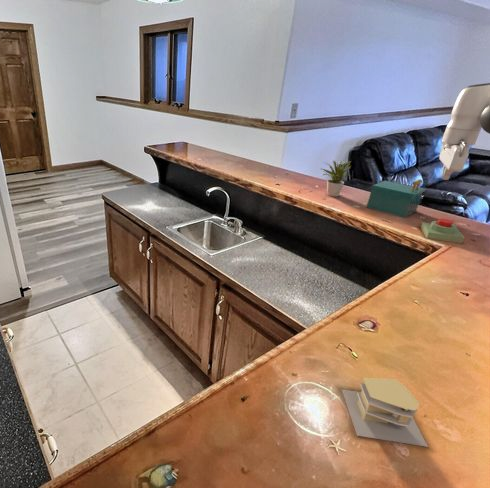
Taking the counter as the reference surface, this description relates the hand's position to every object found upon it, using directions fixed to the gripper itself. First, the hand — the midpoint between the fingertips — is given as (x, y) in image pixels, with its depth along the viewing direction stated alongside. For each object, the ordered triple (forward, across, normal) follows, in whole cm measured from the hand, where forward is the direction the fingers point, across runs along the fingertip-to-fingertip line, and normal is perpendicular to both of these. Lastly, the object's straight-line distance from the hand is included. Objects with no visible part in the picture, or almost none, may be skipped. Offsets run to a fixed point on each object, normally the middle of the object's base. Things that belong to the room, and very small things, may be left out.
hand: (444, 178), depth 120 cm
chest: (+18, +16, +11) cm, 26 cm away
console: (+18, -6, -3) cm, 19 cm away
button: (+14, -6, -3) cm, 16 cm away
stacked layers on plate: (+18, -98, +17) cm, 102 cm away
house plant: (+19, +26, +34) cm, 47 cm away
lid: (+9, +15, +10) cm, 21 cm away
